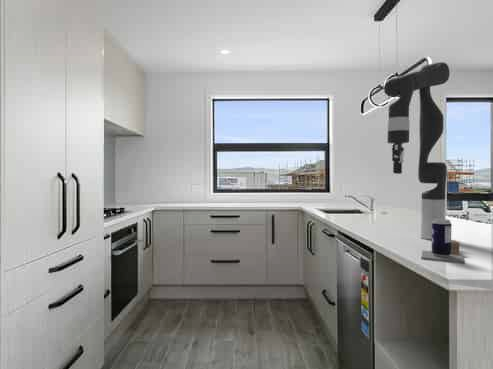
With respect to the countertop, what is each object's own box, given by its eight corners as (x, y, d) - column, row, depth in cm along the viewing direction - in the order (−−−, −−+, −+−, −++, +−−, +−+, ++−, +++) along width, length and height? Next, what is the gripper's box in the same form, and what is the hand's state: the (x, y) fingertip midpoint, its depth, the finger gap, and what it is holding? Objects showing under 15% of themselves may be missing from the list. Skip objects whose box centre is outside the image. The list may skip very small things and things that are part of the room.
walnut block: (440, 251, 128) (440, 239, 128) (454, 252, 127) (454, 240, 127) (444, 254, 123) (444, 241, 123) (458, 255, 122) (459, 242, 122)
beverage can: (444, 253, 121) (445, 218, 121) (454, 257, 116) (455, 220, 115) (428, 253, 121) (428, 218, 121) (437, 257, 116) (438, 220, 115)
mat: (422, 252, 126) (422, 250, 126) (461, 256, 121) (461, 254, 121) (421, 259, 116) (421, 257, 116) (464, 263, 110) (464, 261, 110)
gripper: (408, 127, 125) (407, 173, 125) (410, 132, 138) (409, 173, 138) (385, 128, 129) (384, 173, 129) (389, 133, 141) (389, 173, 142)
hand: (397, 173), depth 133 cm, fingers open, 8 cm apart
